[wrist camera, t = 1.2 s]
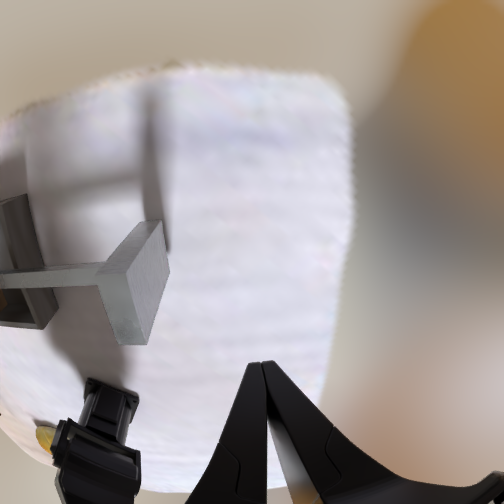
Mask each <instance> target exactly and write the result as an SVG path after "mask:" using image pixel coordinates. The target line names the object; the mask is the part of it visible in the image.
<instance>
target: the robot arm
mask: <svg viewBox="0 0 504 504" xmlns="http://www.w3.org/2000/svg"><path fill="white" fill-rule="evenodd" d="M138 404H139V398H138V397H135V396H133V395H130V394H127V393H125V392H122V391H119V390H117V389H114V388H112V387H109V386H107V385H105V384H102V383H100V382H98V381H95V380H93V379H91V378H88V379H87V381H86V389H85V400H84V407H83V410H82V413H81V415H80V418H79V421H78V423H76V422H74V421H73V420H72V419H70V418H69V417H68V419H67V421H66V420H60V421H59V424H58V426H57V429H56V432H55V435H54V438H53V441H52V444H51V447H50V451H51V453H52V455H53V457H52V459H54V460H53V464H52V465H53V466H55V467H58V470H57V474H56V478H55V486H56V489H57V492H58V494H59V497H60V500H61V502H62V504H134V498H135V497H136V496H137V494H138V492H139V489H140V486H141V455H140V451H139V450H134V449H132V448H129V447H127V446H125V442H126V437H127V432H128V427H129V424H130V423H131V422H132V420H133V417H134V414H135V412H136V409H137V407H138ZM267 420H268V424H269V428H270V431H271V435H272V438H273V441H274V445H275V448H276V451H277V454H278V458H279V461H280V464H281V467H282V470H283V474H284V477H285V480H286V483H287V486H288V489H289V492H290V495H291V498H292V501H293V504H504V472H500V471H493V472H491V473H490V474H489V475H487V476H486V477H485V478H483V479H482V480H481V481H479V482H478V483H477V484H475V485H472V486H467V487H454V486H445V485H437V484H430V483H424V482H417V481H413V480H409V479H406V478H403V477H401V476H399V475H397V474H395V473H393V472H391V471H390V470H389V469H387V468H386V467H384V466H383V465H381V464H380V463H378V462H377V461H376V460H374V459H373V458H371V457H370V456H369V455H367V454H366V453H364V452H363V451H362V450H361V449H359V448H358V447H357V446H356V445H354V444H353V443H352V442H351V441H350V440H349V439H348V438H347V437H346V436H344V435H343V434H342V433H341V432H340V431H339V430H338V429H337V428H336V427H335V426H334V425H333V424H332V423H331V422H330V421H329V420H328V419H327V418H326V416H325V415H324V414H323V413H322V412H321V411H320V410H319V409H318V408H317V407H316V406H315V405H314V404H313V403H312V402H311V401H310V400H309V399H308V397H307V396H306V395H305V394H304V393H303V392H302V391H301V390H300V389H299V388H298V387H297V386H296V385H295V383H294V382H293V381H292V380H291V379H290V378H289V377H288V376H287V375H286V374H285V372H284V371H283V370H282V369H281V368H280V367H279V366H278V365H277V363H276V362H275V361H273V360H270V361H263V362H262V363H260V362H252V363H248V365H247V368H246V370H245V373H244V376H243V379H242V381H241V384H240V387H239V389H238V392H237V395H236V397H235V400H234V403H233V405H232V408H231V411H230V413H229V416H228V419H227V421H226V424H225V426H224V429H223V431H222V434H221V437H220V439H219V443H218V444H217V446H216V449H215V451H214V454H213V456H212V458H211V460H210V462H209V465H208V466H207V468H206V470H205V472H204V474H203V475H202V477H201V479H200V480H199V482H198V484H197V485H196V487H195V488H194V490H193V491H192V493H191V495H190V496H189V498H188V500H187V501H186V502H185V504H267ZM333 426H334V427H333ZM67 438H69V440H68V439H67Z"/></svg>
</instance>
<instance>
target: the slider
mask: <svg viewBox="0 0 504 504" xmlns="http://www.w3.org/2000/svg"><path fill="white" fill-rule="evenodd" d="M169 274H170V270H169V264H168V258H167V253H166V246H165V240H164V234H163V227H162V220H154V221H145V222H139V223H138V224H137V226H136V227H135V228H134V229H133V230H132V231H131V232H130V233H129V235H128V236H127V237H126V238H125V239H124V240H123V241H122V243H121V244H120V245H119V246H118V247H117V248H116V250H115V251H114V252H113V253H112V254H111V256H110V257H109V258H108V259H107V260H106V262H94V263H82V264H70V265H58V266H46V267H34V268H22V269H10V270H0V289H6V288H42V287H68V286H90V285H97V286H98V289H99V292H100V295H101V299H102V302H103V305H104V308H105V310H106V313H107V316H108V319H109V322H110V324H111V327H112V330H113V332H114V335H115V338H116V340H117V343H118V345H147V343H148V340H149V336H150V333H151V329H152V326H153V323H154V320H155V316H156V313H157V310H158V307H159V304H160V301H161V298H162V295H163V291H164V288H165V285H166V283H167V280H168V277H169Z"/></svg>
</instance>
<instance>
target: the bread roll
mask: <svg viewBox="0 0 504 504" xmlns="http://www.w3.org/2000/svg"><path fill="white" fill-rule="evenodd" d="M55 432H56V429H55V428H52V427H45V426H39V427H37V428H36V438H37V440H38V442H39V444H40V445H41V447H42V448H43V449H44V450H46V451H47V452H48V453H50V454H51V455H52V453H51V451H50V447H51V444H52V441H53V438H54V435H55ZM67 439H68V440H69V438H67Z"/></svg>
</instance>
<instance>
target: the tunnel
mask: <svg viewBox="0 0 504 504" xmlns="http://www.w3.org/2000/svg"><path fill="white" fill-rule="evenodd" d="M34 267H44V264H43V260H42V257H41V254H40V250H39V246H38V243H37V239H36V235H35V231H34V227H33V222H32V218H31V213H30V208H29V203H28V198H27V194H24V195H20V196H17V197H13V198H10V199H7V200H3V201H0V270H10V269H22V268H34ZM58 309H59V306H58V304H57V301H56V299H55V296H54V293H53V291H52V288H51V287H42V288H6V289H0V326H6V327H16V328H27V329H40V330H43V329H44V328H45V327H46V325H47V324H48V322H49V321H50V320H51V318H52V317H53V316H54V314H55V313H56V312H57V310H58Z"/></svg>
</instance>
